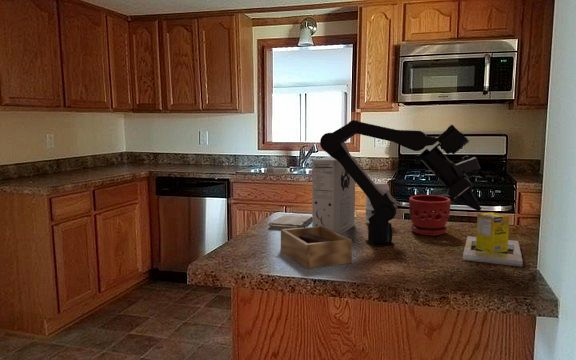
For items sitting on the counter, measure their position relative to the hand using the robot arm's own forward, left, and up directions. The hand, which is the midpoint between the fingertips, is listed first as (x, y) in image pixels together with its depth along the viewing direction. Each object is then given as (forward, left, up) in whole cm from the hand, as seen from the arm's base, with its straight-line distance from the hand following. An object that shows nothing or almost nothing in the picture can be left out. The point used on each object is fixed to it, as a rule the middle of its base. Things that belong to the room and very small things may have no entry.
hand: (478, 207), depth 125 cm
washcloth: (-36, +51, -13) cm, 64 cm away
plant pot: (+2, +23, -13) cm, 27 cm away
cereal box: (-26, +37, -13) cm, 47 cm away
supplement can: (-6, +42, -13) cm, 45 cm away
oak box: (-45, +12, -13) cm, 48 cm away
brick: (-43, +15, -13) cm, 47 cm away
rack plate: (+3, -3, -13) cm, 13 cm away
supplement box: (+3, -3, -13) cm, 14 cm away
